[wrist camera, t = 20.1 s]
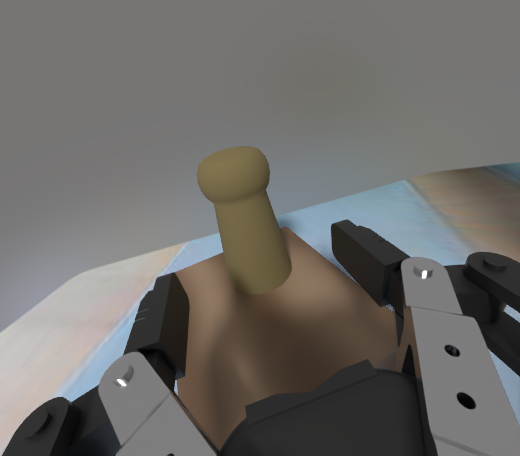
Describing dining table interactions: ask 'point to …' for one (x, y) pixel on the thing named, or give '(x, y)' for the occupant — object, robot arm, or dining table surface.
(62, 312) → the dining table surface
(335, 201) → the dining table surface
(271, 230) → the cork
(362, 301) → the walnut block
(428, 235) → the dining table surface
